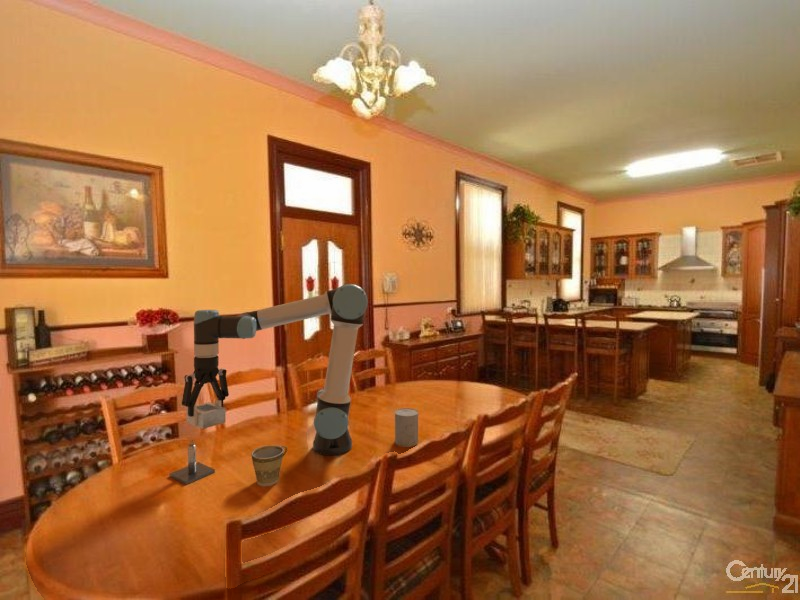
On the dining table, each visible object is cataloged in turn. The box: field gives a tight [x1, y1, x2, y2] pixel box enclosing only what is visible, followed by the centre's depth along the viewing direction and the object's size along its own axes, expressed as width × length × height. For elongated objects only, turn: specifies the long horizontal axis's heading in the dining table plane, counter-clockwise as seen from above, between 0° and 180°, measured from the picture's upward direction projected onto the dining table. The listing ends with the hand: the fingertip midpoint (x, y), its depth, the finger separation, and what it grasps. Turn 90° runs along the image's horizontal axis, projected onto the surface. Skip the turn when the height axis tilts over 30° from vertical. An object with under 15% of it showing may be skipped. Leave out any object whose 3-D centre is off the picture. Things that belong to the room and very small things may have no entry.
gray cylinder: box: [394, 407, 419, 448], centre depth 162 cm, size 10×10×12 cm
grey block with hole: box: [186, 401, 227, 430], centre depth 136 cm, size 10×8×5 cm
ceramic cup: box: [250, 444, 288, 487], centre depth 132 cm, size 13×10×10 cm
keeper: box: [168, 438, 216, 486], centre depth 135 cm, size 10×10×12 cm
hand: (206, 421), depth 136 cm, fingers closed on grey block with hole, 8 cm apart
